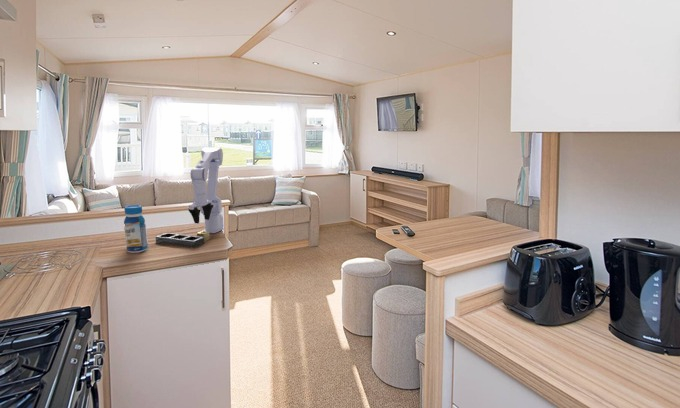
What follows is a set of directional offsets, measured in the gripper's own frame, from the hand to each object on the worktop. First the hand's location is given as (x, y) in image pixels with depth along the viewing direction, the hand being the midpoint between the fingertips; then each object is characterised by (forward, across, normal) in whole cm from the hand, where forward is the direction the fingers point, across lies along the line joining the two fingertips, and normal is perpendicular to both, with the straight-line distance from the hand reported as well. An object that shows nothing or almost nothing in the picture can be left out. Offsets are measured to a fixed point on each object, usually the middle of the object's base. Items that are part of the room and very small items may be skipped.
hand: (202, 221), depth 187 cm
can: (+10, +17, -22) cm, 29 cm away
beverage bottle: (+10, +23, -17) cm, 30 cm away
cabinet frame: (+9, +8, -7) cm, 14 cm away
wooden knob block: (+10, 0, 0) cm, 10 cm away
